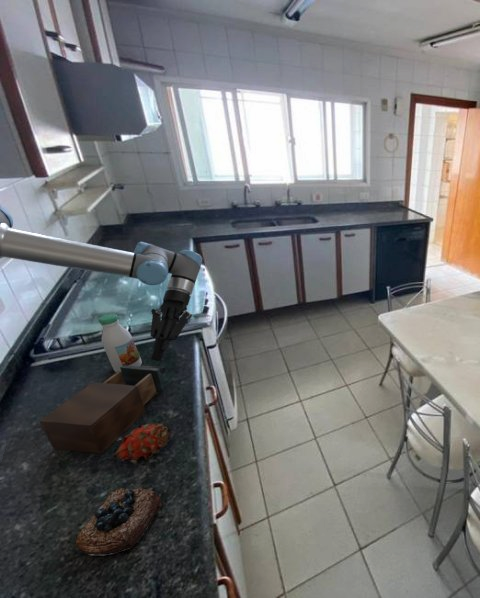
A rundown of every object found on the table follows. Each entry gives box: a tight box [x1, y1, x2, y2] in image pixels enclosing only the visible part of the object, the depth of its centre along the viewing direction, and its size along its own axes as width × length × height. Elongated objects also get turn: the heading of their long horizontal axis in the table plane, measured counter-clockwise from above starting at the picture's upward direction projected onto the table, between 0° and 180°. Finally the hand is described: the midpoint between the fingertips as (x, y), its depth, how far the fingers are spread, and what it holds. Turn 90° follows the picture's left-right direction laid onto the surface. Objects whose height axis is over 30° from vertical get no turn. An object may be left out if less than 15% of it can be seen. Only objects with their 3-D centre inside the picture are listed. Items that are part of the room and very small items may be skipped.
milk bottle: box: [98, 313, 143, 373], centre depth 109 cm, size 8×8×20 cm
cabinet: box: [39, 381, 146, 454], centre depth 87 cm, size 15×13×10 cm
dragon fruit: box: [112, 423, 172, 465], centre depth 82 cm, size 8×8×12 cm
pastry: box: [75, 487, 163, 555], centre depth 67 cm, size 11×12×6 cm
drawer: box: [102, 365, 166, 406], centre depth 98 cm, size 18×11×8 cm, turn 177°
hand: (155, 359), depth 107 cm, fingers closed
